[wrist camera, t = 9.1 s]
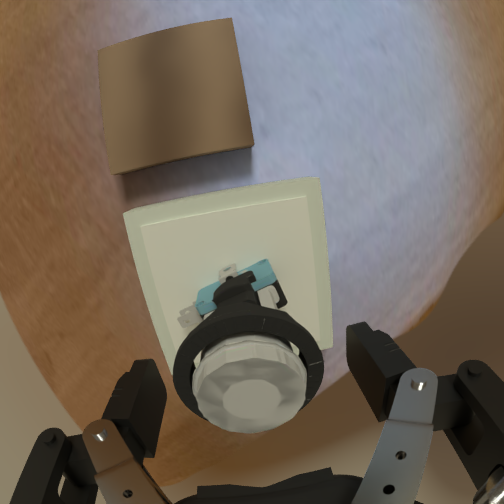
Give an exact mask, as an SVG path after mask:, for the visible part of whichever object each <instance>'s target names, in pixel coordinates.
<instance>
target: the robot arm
mask: <svg viewBox="0 0 504 504" xmlns="http://www.w3.org/2000/svg"><path fill="white" fill-rule="evenodd" d="M346 357H347V363H348V366H349V369H350V371H351V373H352V374H353V376H354V378H355V380H356V382H357V383H358V385H359V387H360V389H361V391H362V392H363V394H364V396H365V398H366V400H367V402H368V403H369V405H370V407H371V409H372V411H373V412H374V414H375V416H376V418H377V420H378V422H381V421H384V420H386V423H385V426H384V428H383V431H382V434H381V437H380V439H379V442H378V445H377V447H376V450H375V453H374V455H373V458H372V460H371V462H370V465H369V467H368V469H367V472H366V474H365V476H364V478H362V477H357V476H352V475H333V473H332V470H331V467H329V468H325V469H321V470H317V471H313V472H309V473H304V474H299V475H296V476H294V477H291V478H289V479H286V480H284V481H281V482H278V483H276V484H273V485H270V486H267V487H249V486H239V485H230V484H229V485H212V486H198V487H197V494H196V495H193V496H190V497H187V498H184V499H182V500H180V501H178V502H176V503H175V504H423V503H420V502H418V501H415V498H416V495H417V492H418V488H419V485H420V482H421V479H422V475H423V472H424V468H425V464H426V460H427V456H428V452H429V447H430V442H431V438H432V433H433V431H438V430H443V431H444V432H445V434H446V436H447V437H448V439H449V441H450V442H451V444H452V446H453V447H454V449H455V451H456V453H457V454H458V456H459V458H460V459H461V461H462V463H463V465H464V466H465V468H466V470H467V472H468V474H469V475H470V477H471V479H472V481H473V483H474V485H475V487H476V488H477V490H478V491H477V492H476V494H475V496H474V498H473V504H504V382H503V381H502V380H501V379H500V378H499V377H498V376H497V375H496V374H495V373H494V372H493V370H492V369H491V368H490V367H489V366H488V365H487V364H485V363H484V362H482V361H479V360H468V361H465V362H463V363H462V364H461V365H460V366H459V368H458V370H457V374H452V375H446V376H439V377H437V376H436V375H435V374H434V373H433V372H432V371H430V370H428V369H424V368H417V367H416V366H415V365H414V364H413V363H412V362H411V360H410V359H409V358H408V357H407V356H406V355H405V353H404V352H403V351H402V350H401V349H399V346H398V345H397V344H396V343H395V342H394V341H393V339H392V338H391V337H390V336H389V335H388V334H386V333H384V332H382V331H380V330H376V331H373V330H372V329H371V328H370V327H369V325H368V324H367V323H366V322H360V323H356V324H353V325H349V326H347V329H346ZM166 400H167V392H166V388H165V385H164V383H163V380H162V378H161V376H160V373H159V371H158V368H157V366H156V364H155V362H154V360H153V359H143V360H135V361H134V363H133V365H132V367H131V370H130V372H126V373H125V374H124V375H123V376H122V377H121V378H120V379H119V380H118V382H117V384H116V386H115V390H113V393H112V397H110V399H109V402H108V404H107V406H106V409H105V411H104V413H103V416H102V418H101V419H99V420H96V421H93V422H91V423H90V424H89V425H87V426H86V428H85V429H84V431H83V434H80V435H74V436H68V437H67V436H66V435H65V434H64V433H63V431H62V430H61V429H59V428H49V429H47V430H45V431H43V432H42V433H41V434H40V435H39V436H38V438H37V440H36V442H35V444H34V446H33V449H32V451H31V453H30V455H29V457H28V460H27V462H26V464H25V467H24V469H23V471H22V474H21V476H20V478H19V481H18V483H17V486H16V488H15V491H14V493H13V496H12V499H11V501H10V504H95V501H96V496H97V492H98V487H99V489H100V491H101V493H102V495H103V496H104V499H105V501H106V503H107V504H172V502H171V501H170V500H169V499H168V498H167V497H166V495H165V494H164V493H163V491H162V490H161V489H160V487H159V486H158V485H157V483H156V482H155V480H154V479H153V478H152V476H151V475H150V473H149V472H148V471H147V469H146V468H145V466H144V465H143V460H144V458H154V457H155V452H156V447H157V442H158V437H159V432H160V428H161V423H162V418H163V414H164V409H165V405H166ZM62 475H63V476H64V477H65V481H64V484H63V488H62V491H61V494H60V497H59V495H58V486H59V483H60V480H61V477H62Z"/></svg>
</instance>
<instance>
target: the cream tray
mask: <svg viewBox="0 0 504 504" xmlns="http://www.w3.org/2000/svg"><path fill="white" fill-rule="evenodd" d="M123 216H124V221H125V225H126V229H127V234H128V238H129V242H130V246H131V250H132V254H133V257H134V261H135V265H136V269H137V272H138V276H139V279H140V283H141V286H142V289H143V293H144V296H145V299H146V303H147V306H148V309H149V312H150V315H151V318H152V321H153V324H154V327H155V330H156V333H157V336H158V339H159V342H160V344H161V347H162V350H163V353H164V355H165V358H166V361H167V363H168V366H169V368H170V371H171V374H172V375H173V366H174V361H175V357H176V354H177V351H178V349H179V347H180V345H181V344H182V342H183V341H184V339H185V338H186V337H187V335H188V334H189V333H190V332H191V331H192V330H193V329H194V328H195V327H197V326H198V325H199V322H198V323H195V324H193V325H191V326H188V327H186V328H182V326H181V325H180V323H179V322H178V320H177V318H178V317H180V316H181V315H180V313H179V311H180V310H182V309H184V308H187V307H189V306H191V305H193V303H192V302H194V301H196V300H197V295H198V291H199V290H200V289H202V288H204V287H206V286H208V285H210V284H213V283H215V282H217V281H219V279H218V278H219V277H218V274H219V270H220V269H222V268H224V267H226V266H228V265H231V264H233V263H235V264H236V271H237V272H238V271H241V270H243V269H245V268H247V267H249V266H251V265H253V264H255V263H257V262H258V261H261V260H263V259H268V261H269V263H270V265H271V267H272V269H273V271H274V273H275V275H276V278H277V280H278V282H279V284H280V286H281V288H282V291H283V293H284V295H285V297H286V299H287V301H288V303H287V304H286V305H285V306H284V307H282V308H280V309H278V310H281V311H285V312H287V313H288V314H289V315H290V316H291V317H292V318H293V319H294V320H295V321H296V322H298V323H299V324H300V325H302V326H303V327H304V328H305V329H306V330H308V331H309V332H310V334H311V335H312V336H313V338H314V339H315V341H316V342H317V344H318V346H319V348H320V350H323V349H327V348H331V347H333V331H332V308H331V290H330V275H329V262H328V250H327V239H326V229H325V220H324V211H323V202H322V194H321V186H320V178H317V177H302V178H295V179H288V180H281V181H274V182H267V183H261V184H255V185H249V186H243V187H237V188H231V189H225V190H220V191H214V192H209V193H204V194H199V195H193V196H188V197H183V198H179V199H174V200H169V201H164V202H160V203H155V204H151V205H146V206H142V207H137V208H134V209H132V210H129V211H127V212H125V213H123ZM229 269H230V268H228V269H226V270H225V271H227V270H229ZM189 312H191V311H186V312H185V314H186V313H189ZM184 322H185V323H189V322H190V320H187V321H184ZM290 344H291V347H292V349H293V352H294V353H295V354H296V355H299V349H298V348H297V347H296V346H295V345H294V344H293V343H291V342H290ZM200 358H201V351H200V353H199V354H198V355H197V356H196V358H195V359H194V364H195V367H196V368H197V367H198V365H199V364H200Z"/></svg>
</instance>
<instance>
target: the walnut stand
mask: <svg viewBox="0 0 504 504" xmlns="http://www.w3.org/2000/svg"><path fill="white" fill-rule="evenodd" d="M98 67H99V84H100V97H101V108H102V117H103V126H104V134H105V141H106V148H107V155H108V161H109V167H110V173H111V175H121V174H125V173H129V172H133V171H136V170H140V169H144V168H148V167H153V166H157V165H161V164H165V163H170V162H174V161H179V160H184V159H188V158H193V157H198V156H203V155H209V154H214V153H220V152H225V151H231V150H237V149H243V148H250V147H252V146H253V145H254V139H253V133H252V127H251V121H250V116H249V110H248V104H247V98H246V93H245V87H244V81H243V76H242V70H241V65H240V59H239V54H238V48H237V43H236V38H235V32H234V27H233V22H232V18H225V19H218V20H211V21H205V22H199V23H193V24H188V25H183V26H178V27H174V28H169V29H165V30H161V31H157V32H153V33H150V34H146V35H142V36H139V37H136V38H132V39H129V40H126V41H123V42H120V43H117V44H114V45H111V46H108V47H105V48H103V49H100V50H98Z"/></svg>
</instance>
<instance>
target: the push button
mask: <svg viewBox="0 0 504 504" xmlns="http://www.w3.org/2000/svg"><path fill="white" fill-rule="evenodd" d="M228 268H230V269H229V270H227V271H225V270H226V269H228ZM218 277H219V278H218V279H219V281H217V282H215V283H213V284H210V285H208V286H206V287H204V288H202V289H200V290H199V291H198V295H197V300H196V301H194V302H192V303H193V305H191V306H189V307H187V308H184V309H182V310H180V311H179V313H180V315H181V316H180V317H178V318H177V320H178V322H179V323H180V325H181V326H182V328H186V327H188V326H191V325H193V324H195V323H198V322H199V325H198V326H197V327H195V328H194V329H193V330H192V331H191V332H190V333H189V334H188V335H187V337H186V338H185V339H184V341H183V342H182V344H181V345H180V347H179V349H178V351H177V354H176V357H175V361H174V366H173V382H174V386H175V389H176V391H177V394H178V395H179V397H180V399H181V400H182V401H183V403H184V404H185V405H186V406H187V407H188V408H189V409H190V410H191V411H192V412H194V413H195V414H196V415H198V416H199V417H201V418H203V419H205V420H207V421H209V422H210V423H212V424H214V425H216V426H219V427H220V428H222V429H225V430H228V431H232V432H242V433H256V432H261V431H266V430H271V429H274V428H276V427H278V426H280V425H281V424H283V423H285V422H287V421H289V420H290V419H291V418H293V417H294V416H295V414H296V413H297V412H299V411H300V410H301V409H302V408H304V407H305V406H306V405H307V404H308V403H309V402H310V401H311V400H312V398H313V397H314V396H315V394H316V392H317V391H318V389H319V387H320V385H321V382H322V379H323V374H324V361H323V357H322V353H321V351H320V348H319V346H318V344H317V342H316V341H315V339H314V338H313V336H312V335H311V334H310V332H309V331H308V330H306V329H305V328H304V327H303V326H302V325H300V324H299V323H298V322H296V321H295V320H294V319H293V318H292V317H291V316H290V315H289V314H288V313H287V312H285V311H281V310H278V309H280V308H282V307H284V306H285V305H286V304H287V303H288V301H287V299H286V297H285V295H284V293H283V291H282V288H281V286H280V284H279V282H278V280H277V278H276V275H275V273H274V271H273V269H272V267H271V265H270V263H269V261H268V259H263V260H261V261H258V262H257V263H255V264H253V265H251V266H249V267H247V268H245V269H243V270H241V271H238V272H237V271H236V264H235V263H233V264H231V265H228V266H226V267H224V268H222V269H220V270H219V274H218ZM186 311H191V312H189V313H186V314H185V312H186ZM187 320H190V322H189V323H185V322H184V321H187ZM290 342H291V343H293V344H294V345H295V346H296V347H297V348H298V349H299V357H298V356H297V355H296V354H295V353H294V352H293V349H292V347H291V344H290ZM200 351H201V358H200V364H199V365H198V367H197V368H196V367H195V364H194V359H195V358H196V356H197V355H198V354H199V353H200Z"/></svg>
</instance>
